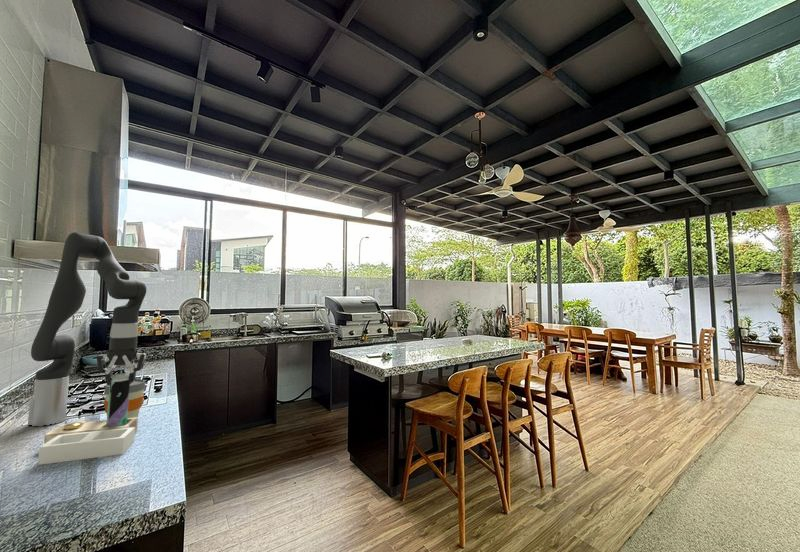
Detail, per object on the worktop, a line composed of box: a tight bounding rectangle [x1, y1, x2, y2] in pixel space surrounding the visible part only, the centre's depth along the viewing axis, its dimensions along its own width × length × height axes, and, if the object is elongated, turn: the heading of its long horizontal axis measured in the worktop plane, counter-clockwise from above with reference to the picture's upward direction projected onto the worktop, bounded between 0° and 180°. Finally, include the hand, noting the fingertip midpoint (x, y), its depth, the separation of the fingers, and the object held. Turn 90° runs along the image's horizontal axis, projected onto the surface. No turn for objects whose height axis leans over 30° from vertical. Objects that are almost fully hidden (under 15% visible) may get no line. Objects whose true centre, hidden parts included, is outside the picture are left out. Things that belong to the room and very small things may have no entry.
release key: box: [64, 421, 83, 430], centre depth 109 cm, size 4×4×6 cm
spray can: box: [106, 368, 130, 427], centre depth 114 cm, size 6×6×20 cm
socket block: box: [43, 416, 139, 445], centre depth 111 cm, size 22×9×5 cm, turn 111°
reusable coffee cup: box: [103, 378, 146, 418], centre depth 128 cm, size 13×13×15 cm
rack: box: [37, 427, 136, 466], centre depth 103 cm, size 20×9×5 cm, turn 111°
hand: (120, 383), depth 115 cm, fingers closed on spray can, 5 cm apart
